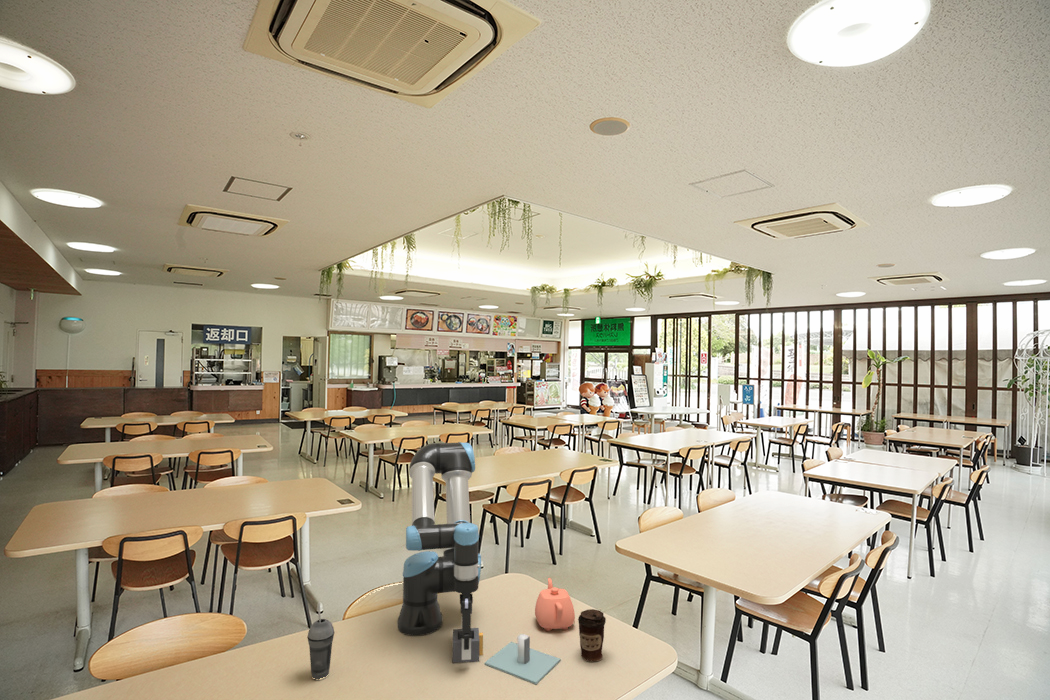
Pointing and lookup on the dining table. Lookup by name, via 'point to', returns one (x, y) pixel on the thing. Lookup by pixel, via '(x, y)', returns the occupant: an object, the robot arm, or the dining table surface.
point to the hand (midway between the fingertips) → (466, 647)
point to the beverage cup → (320, 646)
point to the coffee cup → (591, 634)
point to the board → (522, 669)
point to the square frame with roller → (475, 645)
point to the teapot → (554, 608)
